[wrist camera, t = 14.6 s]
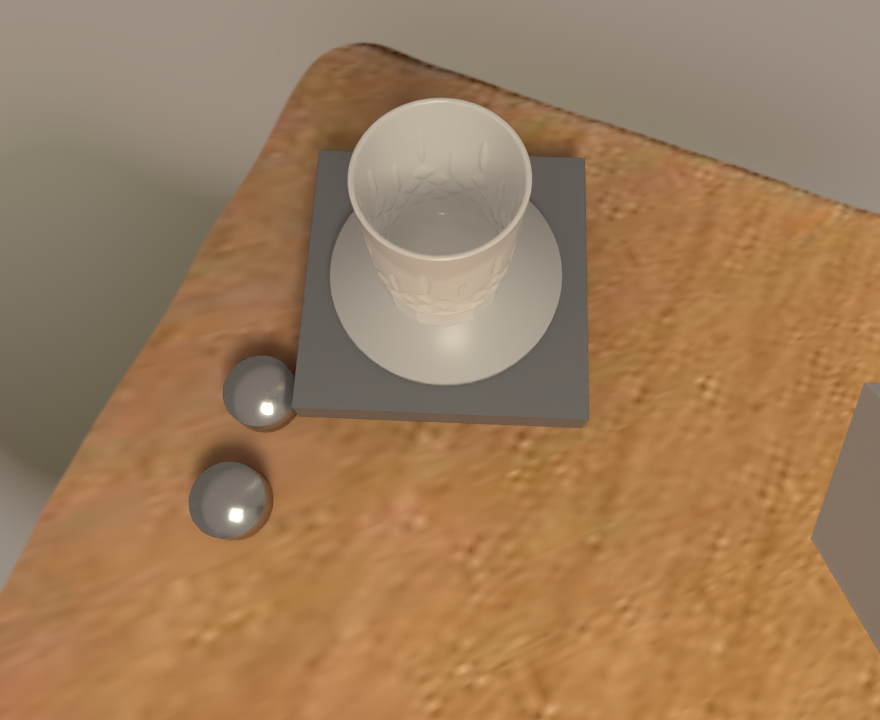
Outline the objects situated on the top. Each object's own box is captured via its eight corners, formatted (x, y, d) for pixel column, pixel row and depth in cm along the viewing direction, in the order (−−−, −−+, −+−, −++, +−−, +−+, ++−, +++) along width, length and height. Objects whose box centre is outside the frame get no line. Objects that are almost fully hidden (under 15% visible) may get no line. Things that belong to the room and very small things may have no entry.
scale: (578, 168, 45) (587, 140, 42) (581, 427, 40) (591, 416, 38) (326, 161, 46) (318, 132, 43) (300, 416, 41) (288, 403, 38)
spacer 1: (305, 366, 42) (298, 356, 40) (299, 434, 41) (291, 427, 39) (238, 364, 42) (228, 354, 40) (229, 431, 41) (218, 424, 39)
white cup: (489, 193, 42) (500, 78, 32) (531, 316, 39) (557, 232, 30) (357, 228, 41) (328, 121, 31) (392, 354, 39) (372, 281, 29)
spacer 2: (278, 470, 40) (269, 464, 38) (267, 543, 39) (258, 541, 37) (208, 464, 40) (196, 458, 39) (195, 536, 39) (182, 535, 37)
